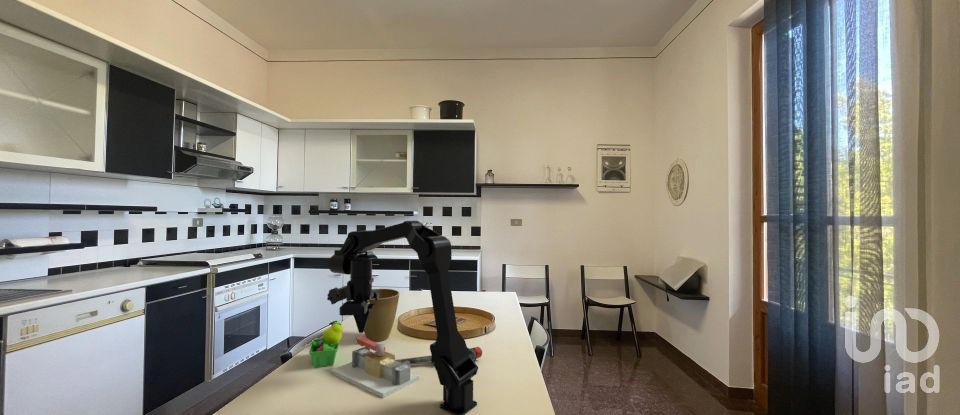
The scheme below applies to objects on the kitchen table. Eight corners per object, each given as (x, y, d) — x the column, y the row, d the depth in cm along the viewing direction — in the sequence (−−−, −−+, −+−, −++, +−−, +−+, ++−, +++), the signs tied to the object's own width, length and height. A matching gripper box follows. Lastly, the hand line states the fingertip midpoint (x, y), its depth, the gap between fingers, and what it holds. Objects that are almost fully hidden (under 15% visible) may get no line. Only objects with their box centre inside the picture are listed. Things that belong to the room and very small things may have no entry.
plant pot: (353, 334, 132) (353, 290, 132) (394, 329, 138) (394, 287, 138) (357, 349, 118) (358, 300, 118) (403, 342, 125) (403, 295, 125)
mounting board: (419, 379, 98) (419, 375, 98) (383, 397, 88) (383, 393, 88) (367, 359, 111) (367, 355, 111) (331, 373, 101) (331, 369, 101)
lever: (386, 354, 100) (386, 345, 100) (379, 356, 98) (379, 347, 98) (363, 344, 107) (363, 335, 107) (356, 346, 105) (356, 337, 105)
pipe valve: (412, 382, 96) (412, 361, 96) (397, 389, 91) (397, 368, 92) (365, 362, 107) (365, 344, 107) (349, 368, 103) (350, 349, 103)
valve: (477, 355, 120) (486, 367, 105) (396, 364, 115) (394, 379, 100) (476, 335, 120) (484, 345, 106) (395, 343, 115) (393, 355, 101)
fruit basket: (312, 355, 113) (313, 319, 113) (343, 351, 116) (343, 316, 116) (308, 370, 103) (309, 330, 103) (342, 366, 105) (342, 327, 106)
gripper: (342, 270, 110) (342, 322, 109) (318, 283, 91) (318, 345, 91) (379, 270, 110) (379, 322, 110) (363, 282, 92) (363, 344, 91)
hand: (361, 332), depth 100 cm, fingers closed
